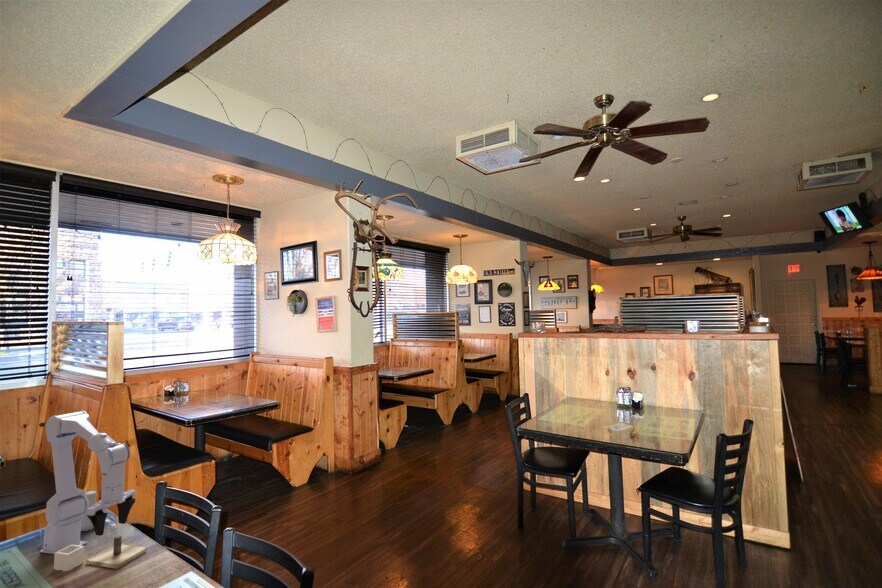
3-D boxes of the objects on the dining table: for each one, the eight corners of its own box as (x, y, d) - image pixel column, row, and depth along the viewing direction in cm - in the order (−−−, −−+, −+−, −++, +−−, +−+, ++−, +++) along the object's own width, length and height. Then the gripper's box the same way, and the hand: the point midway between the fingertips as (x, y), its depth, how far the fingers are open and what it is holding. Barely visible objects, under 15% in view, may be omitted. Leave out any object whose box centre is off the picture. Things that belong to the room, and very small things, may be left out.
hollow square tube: (53, 569, 131) (54, 552, 131) (71, 560, 136) (71, 544, 136) (66, 571, 130) (67, 554, 130) (83, 562, 135) (84, 546, 135)
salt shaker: (86, 533, 153) (87, 496, 154) (73, 532, 154) (74, 494, 155) (102, 526, 159) (103, 489, 159) (89, 524, 160) (91, 488, 160)
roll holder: (86, 564, 134) (86, 543, 134) (116, 547, 144) (117, 528, 144) (117, 568, 131) (118, 547, 132) (146, 551, 141) (147, 532, 142)
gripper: (101, 495, 129) (98, 541, 128) (143, 477, 143) (142, 519, 143) (82, 493, 130) (79, 539, 130) (126, 475, 145) (124, 517, 144)
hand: (111, 528), depth 136 cm, fingers open, 7 cm apart
